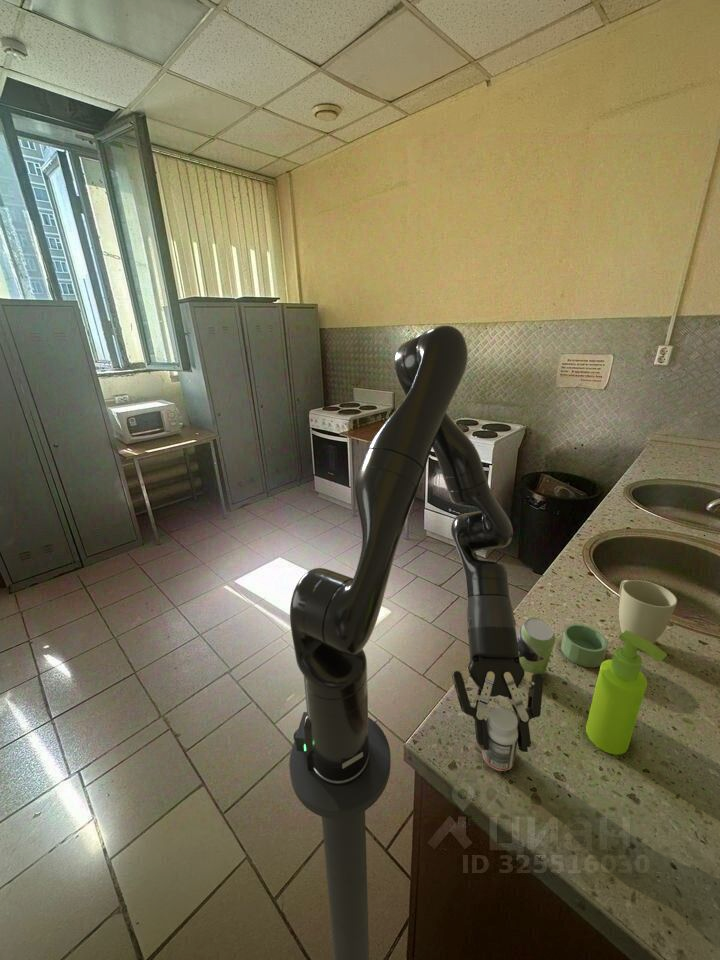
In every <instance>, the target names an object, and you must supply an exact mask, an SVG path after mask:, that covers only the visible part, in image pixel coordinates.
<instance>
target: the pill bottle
mask: <svg viewBox="0 0 720 960" xmlns="http://www.w3.org/2000/svg"><path fill="white" fill-rule="evenodd" d="M485 721H486V722H487V733H488V744H489V750H483V749H482V748H481V754H482V757H483V759H484V761H485V763H486V764H487V765H488V766H489V767H490V768H492V769H493V770H496V771H499V772H506V771H508V770H511V769H512V768H513V766H514V763H515V759H516V754H517V747H518V729H517V724H518V721H517V717H516V715H515V713H514V711H513V710H512V709H510V708H509V707H506V706H503V705H495V706H492V708H490V709H489V712H488V717H487V718H486V719H485Z"/></svg>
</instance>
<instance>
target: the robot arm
mask: <svg viewBox="0 0 720 960" xmlns="http://www.w3.org/2000/svg"><path fill="white" fill-rule="evenodd" d="M468 350H469V349H468V345H467V341H466V338H465V336H464V334H463V333H462V332H461V330H459V329H458V328H456V327H455V326H453V325H446V324H445V325H438V326H435V327H432V328H430V329H428V330H426V331H424V332H421V333H419V334H418V335H416V336H414V337H412V338H410V339H408V340H406V341H405V342H403V343H402V344H401V345H400V346H398V348H397V349H396V352H395V355H394V370H395V373H396V376H397V379H398V381H399V384H400V386H401V387H402V390H403V392H404V394H405V397H404V399H403V400H402V401H401V403H400V404H399V405H398V406H397V408H396V409H395V410H394V411H393V412H392V413H391V414H390V416H389V417H388V418H387V420H386V421H385V422H383V424H382V425H381V427H380V428H379V429H378V430H377V432H376V433H375V434H374V436H373V438H372V439H371V441H370V443H369V445H368V446H367V449H366V451H365V454H364V456H363V459H362V461H361V464H360V466H359V468H358V471H357V473H356V477H355V481H354V493H355V494H354V496H355V501H356V507H357V512H358V517H359V523H360V529H361V549H360V554H359V560H358V563H357V567H356V570H355V573H354V576H353V577H350V576H349V575H345V574H342V573H339V572H336V571H334V570H332V569H328V568H323V567H316V568H315V567H314V568H313V569H312V568H311V569H310V570H308V571H307V572H306V573H304V574H303V575H302V576H301V577H300V579H299V581H298V582H297V583H296V585H295V587H294V589H293V593H292V596H291V598H290V599H291V600H290V607H289V624H290V631H291V637H292V643H293V644H292V645H293V648H294V655H295V660H296V665H297V667H298V669H299V671H300V672H301V674H302V675H303V685H304V695H305V705H306V711H303V713H302V715H301V718H300V721H299V725H298V728H297V729H296V730H295V731H294V733H293V740H294V741H295V742H296V749H297V751H302V752H306V758H307V769H308V770H309V771H313V772H315V774H316V775H317V777H318V778H319V779H320V780H322V781H323V782H325V783H327V784H330V785H334V786H342V785H347V784H350V783H352V782H354V781H355V780H357V779H358V778H359V777H360V776H361V775H362V774H363V773H364V771H365V769H366V767H367V765H368V762H369V741H368V717H369V699H368V698H369V697H368V695H369V694H368V661H367V656H366V651H364V648H365V646H366V645H367V643H368V642H369V640H370V639H371V637H372V634H373V632H374V629H375V627H376V624H377V621H378V618H379V615H380V612H381V608H382V604H383V601H384V597H385V593H386V590H387V586H388V582H389V578H390V574H391V570H392V567H393V563H394V559H395V556H396V552H397V549H398V545H399V542H400V539H401V536H402V534H403V530H404V527H405V525H406V522H407V519H408V517H409V514H410V511H411V509H412V507H413V504H414V501H415V499H416V497H417V493H418V491H419V488H420V485H421V482H422V479H423V477H424V474H425V470H426V467H427V463H428V460H429V457H430V454H431V451H432V450H433V452H434V454H435V457H436V460H437V462H438V465H439V468H440V471H441V475H442V478H443V481H444V484H445V487H446V490H447V493H448V496H449V498H450V501H451V502H452V503H453V504H454V505H458V506H469V507H474V508H477V509H478V511H473V512H467V513H461V514H458V515H456V516H455V518H454V519H453V520H452V523H451V526H450V527H451V528H450V532H451V533H450V534H451V537H452V541H453V543H454V546H455V548H456V551H457V553H458V556H459V559H460V562H461V565H462V569H463V574H464V581H465V592H466V593H465V594H466V611H465V612H466V623H467V624H466V625H467V637H468V649H469V663H468V666H467V668H465V669H461V670H453V671H452V672H451V678H452V682H453V685H454V689H455V692H456V696H457V699H458V703H459V706H460V710H461V711H462V712H463V713H465V715H468V716H470V717H472V718H473V720H474V732H475V740H476V743H477V744H478V745H479V746H480V748H481V750H482V749H483V750H489V744H488V733H487V722H486V719H485V716H486V711H487V708H488V705H489V702H490V698H491V697H492V698H493V697H499V696H500V697H504V698H506V699H507V701H508V703H509V704H510V706H511V708H512V712H513V713H514V714H515V715H516V717H517V721H518V724H517V729H518V741H517V747H518V750H519V751H521V753H522V752H523V753H528V751H529V749H528V748H531V746H532V740H531V739H532V738H531V731H530V724H529V723H530V721H531V720H532V719H535V718H539V717H541V713H542V712H541V711H542V700H543V688H544V687H543V686H544V676H542V675H541V674H537V673H530V672H527V671H524V669H523V667H522V666H521V664H520V660H519V651H518V644H517V636H518V635H517V629H516V624H517V623H516V619H515V613H514V608H513V605H512V601H511V600H512V599H511V595H510V587H509V579H508V572H507V569H506V566H505V565H504V564H503V563H501V562H498V561H493V560H484V559H479V557H478V556H477V552H479V551H486V550H494V549H495V550H496V549H502V548H505V547H507V546H509V544H510V543H511V542H512V540H513V536H514V529H513V525H512V522H511V519H510V518H509V516H508V514H507V513H506V512H505V510H504V508H503V507H502V506H501V503H499V501H498V500H497V498H496V496H495V494H494V492H493V491H492V489H491V487H490V485H489V482H488V479H487V476H486V473H485V470H484V465H483V462H482V460H481V456H480V454H479V452H478V450H477V448H476V446H475V445H474V443H473V442H472V440H471V439H470V437H468V436H467V434H466V433H465V432H464V430H462V429H461V428H460V426H458V425H457V423H456V422H455V421H454V419H452V417H451V416H450V414H449V413H448V412H447V411H448V408H449V406H450V404H451V402H452V400H453V398H454V396H455V394H456V392H457V390H458V388H459V386H460V384H461V381H462V379H463V377H464V374H465V372H466V369H467V364H468V358H469V357H468V356H469V351H468ZM469 677H470V678H471V679H472V681H473V682H474V684H475V685H476V686H477V690H476V691H477V692H476V696H475V703H474V706H472V705H471V701H470V699H469V694H468V692H467V689H466V685H468V683H469ZM523 678H524V679H523ZM523 680H525V681H524V682H525V685H526V687H528V692H527V694H528V695H527V704H526V708H525V705H524V700H523V698H522V696H521V694H520V692H519V689H518V688H519V686H520V684H521V683H522V681H523ZM294 741H293V742H294Z"/></svg>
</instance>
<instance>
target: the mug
mask: <svg viewBox="0 0 720 960" xmlns="http://www.w3.org/2000/svg"><path fill="white" fill-rule="evenodd" d="M677 604H678V599H677V596H676V595H675V594H674V593H673V592H672V591H670V590H669V589H667V588H666V587H663V586H661V585H660V584H657V583H654V582H650V581H646V580H642V579H641V580H640V579H624V580H622V581H621V582H620V586H619V605H618V619H619V626H620V631H621V634H622V633H623V632H625V631H626V630H627V631H629V632H631V633H633V634H635V635H637V636H639V637H641V638H643V639H645V640H647V641H649V642H650V643H652V644H654V643H655V642H656V641H657V640H658V639H659V638H660V637H661V636H662V635H663V633H664V632H665V630H666V629H667V627H668V625H669V623H670V621H671V618H672V615H673V614H674V611H675V609H676V606H677Z"/></svg>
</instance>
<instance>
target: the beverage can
mask: <svg viewBox="0 0 720 960" xmlns="http://www.w3.org/2000/svg"><path fill="white" fill-rule="evenodd" d="M516 636H517V644H518V651H519V660H520V664H521V666H522V667H523V669H524V671H527V672H530V673H537V674H541V675H542V676H543V677H545V673H546V672H547V671H546V670H547V667H548V664H549V662H550V659H551V655H552V652H553V649H554V647H555V642H556V635H555V632H554V629H553V627H552V626H551V624H550V623H548V622H547V621H545V619H541V618H538V617H529V618H527V619H526V620H525V621H523V622H522V623H521V624H520V625H519V628H518V632H517V635H516ZM522 680H525V679H524V678H523V679H522Z"/></svg>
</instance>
